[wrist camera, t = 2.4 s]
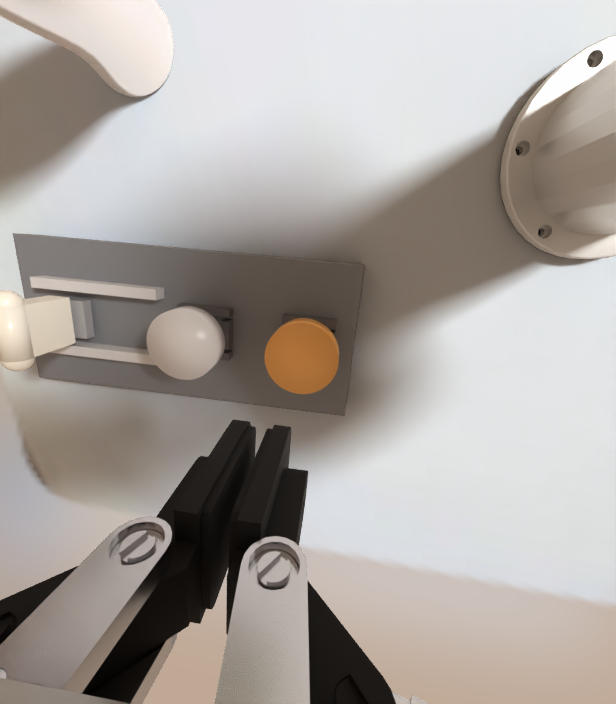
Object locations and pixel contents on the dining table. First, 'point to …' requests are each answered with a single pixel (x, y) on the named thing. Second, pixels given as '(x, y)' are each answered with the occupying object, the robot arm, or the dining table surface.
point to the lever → (40, 326)
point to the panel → (198, 291)
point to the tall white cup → (105, 37)
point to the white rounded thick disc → (185, 342)
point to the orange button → (302, 356)
